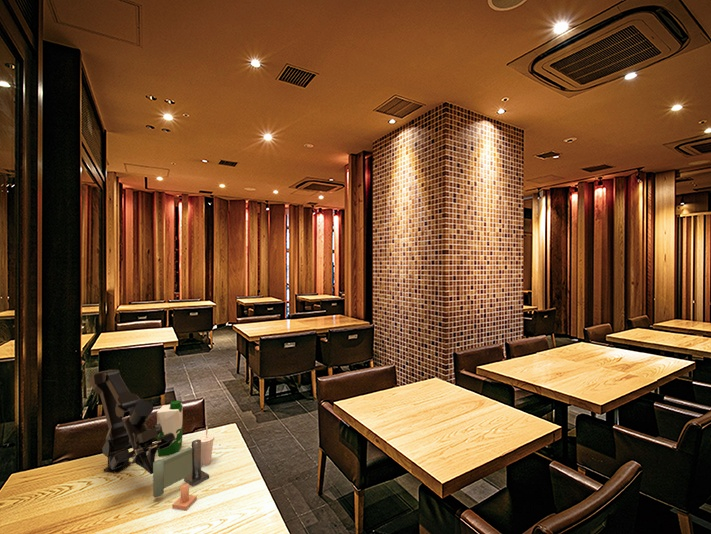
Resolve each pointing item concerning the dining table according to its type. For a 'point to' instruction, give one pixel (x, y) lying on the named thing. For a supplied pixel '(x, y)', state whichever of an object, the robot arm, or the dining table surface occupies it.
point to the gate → (171, 470)
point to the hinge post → (196, 466)
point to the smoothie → (206, 447)
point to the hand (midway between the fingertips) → (152, 473)
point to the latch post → (184, 498)
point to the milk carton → (171, 426)
